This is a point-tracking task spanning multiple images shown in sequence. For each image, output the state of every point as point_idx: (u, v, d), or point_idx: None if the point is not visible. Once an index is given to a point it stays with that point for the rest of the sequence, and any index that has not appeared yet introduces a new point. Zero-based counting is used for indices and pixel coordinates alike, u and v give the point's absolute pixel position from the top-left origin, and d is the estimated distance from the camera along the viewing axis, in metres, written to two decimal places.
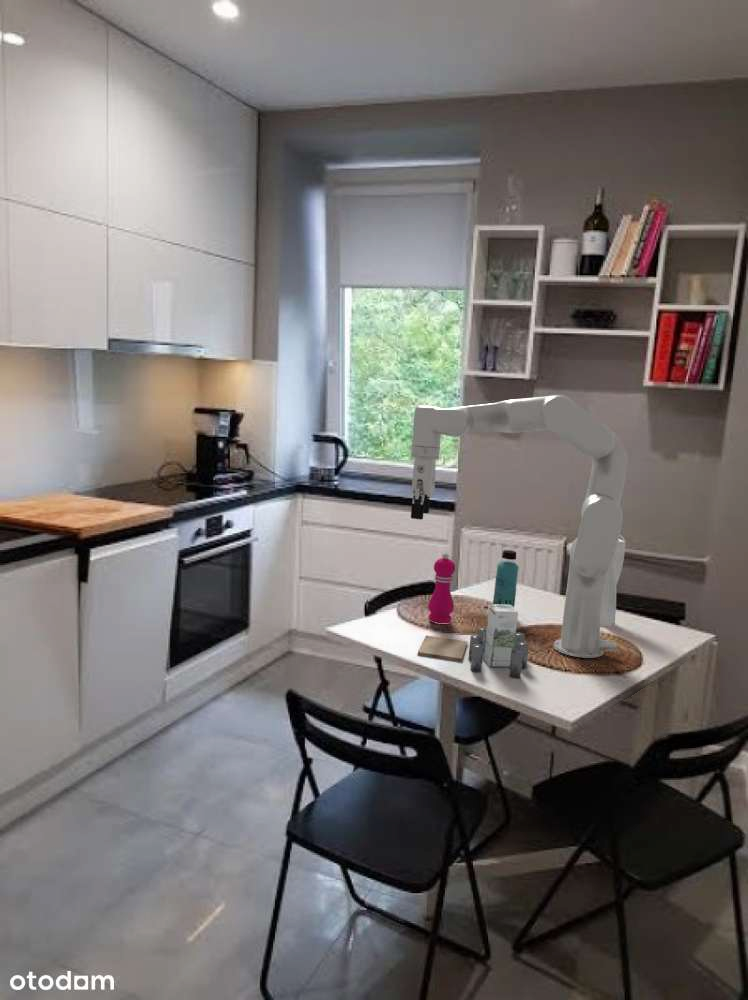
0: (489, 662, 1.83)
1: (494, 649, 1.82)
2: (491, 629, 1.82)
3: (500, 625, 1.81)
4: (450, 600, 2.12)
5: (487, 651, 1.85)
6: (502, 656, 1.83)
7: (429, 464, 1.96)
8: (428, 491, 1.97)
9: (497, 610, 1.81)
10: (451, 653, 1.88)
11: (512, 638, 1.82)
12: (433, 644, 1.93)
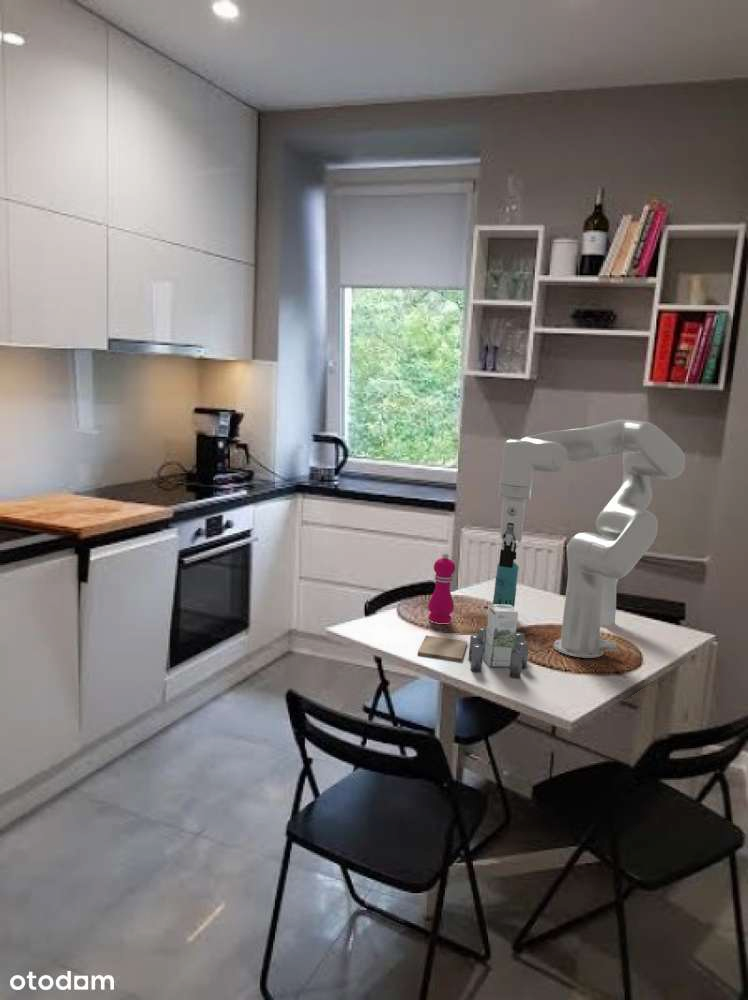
0: (489, 662, 1.83)
1: (494, 649, 1.82)
2: (491, 629, 1.82)
3: (500, 625, 1.81)
4: (450, 600, 2.12)
5: (487, 651, 1.85)
6: (502, 656, 1.83)
7: (521, 506, 1.74)
8: (520, 536, 1.75)
9: (497, 610, 1.81)
10: (451, 653, 1.88)
11: (512, 638, 1.82)
12: (433, 644, 1.93)
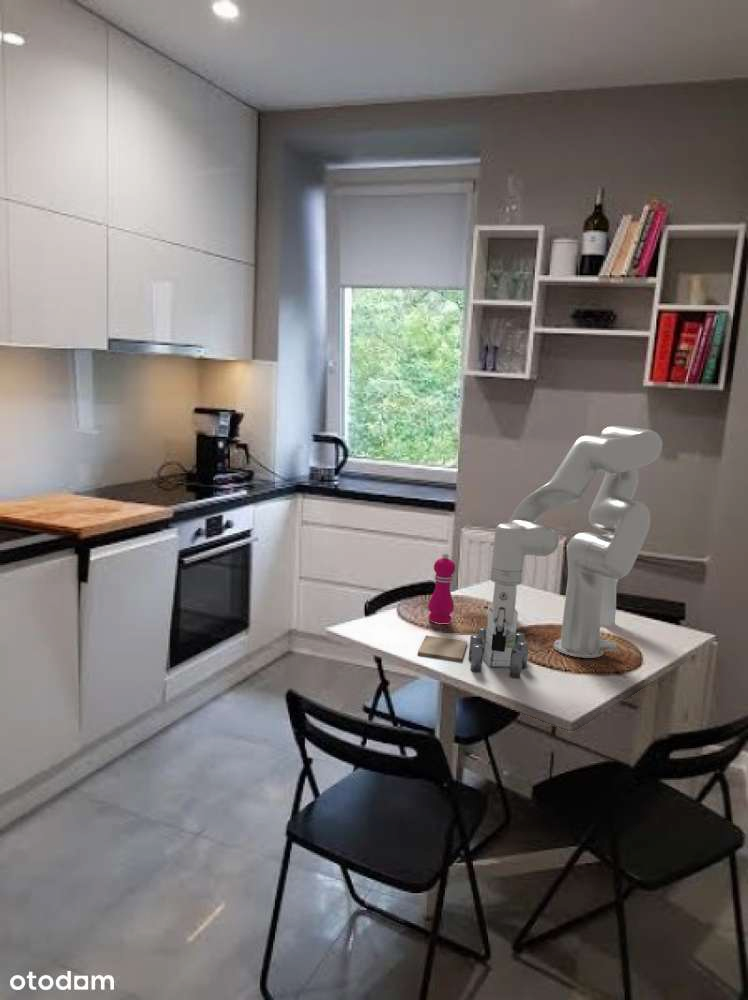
0: (489, 662, 1.83)
1: None
2: (491, 629, 1.82)
3: None
4: (450, 600, 2.12)
5: (487, 651, 1.85)
6: (502, 656, 1.83)
7: (512, 590, 1.78)
8: (511, 620, 1.78)
9: None
10: (451, 653, 1.88)
11: (512, 638, 1.82)
12: (433, 644, 1.93)
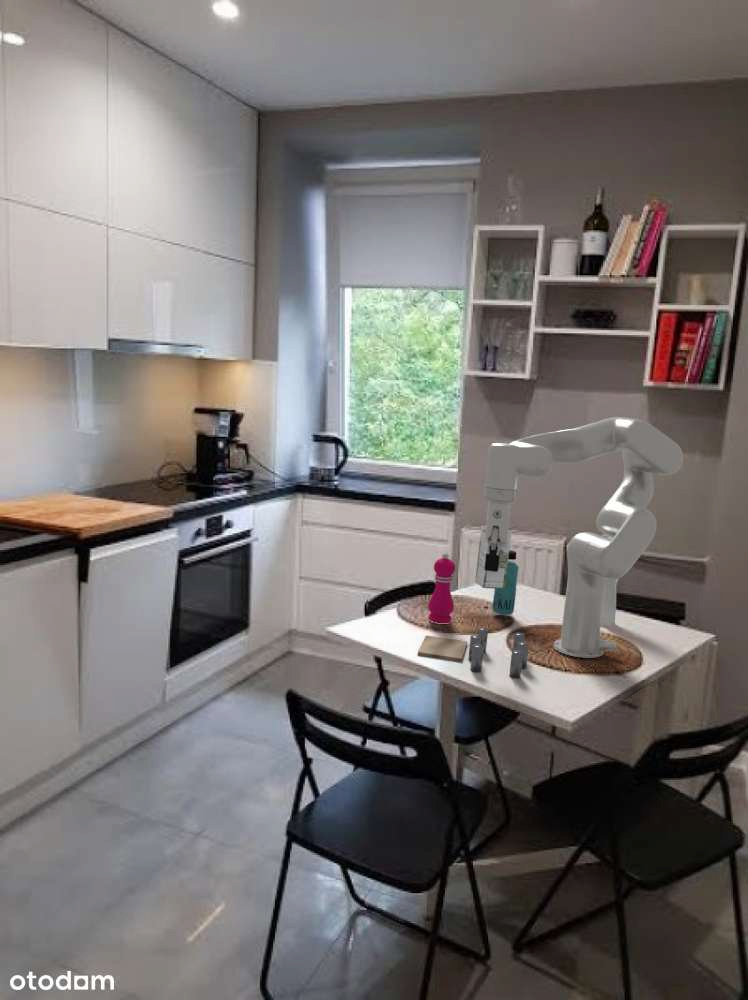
0: (482, 583, 1.81)
1: None
2: (484, 549, 1.81)
3: None
4: (450, 600, 2.12)
5: (480, 573, 1.83)
6: (495, 577, 1.81)
7: (506, 509, 1.76)
8: (505, 539, 1.77)
9: None
10: (451, 653, 1.88)
11: (505, 558, 1.81)
12: (433, 644, 1.93)
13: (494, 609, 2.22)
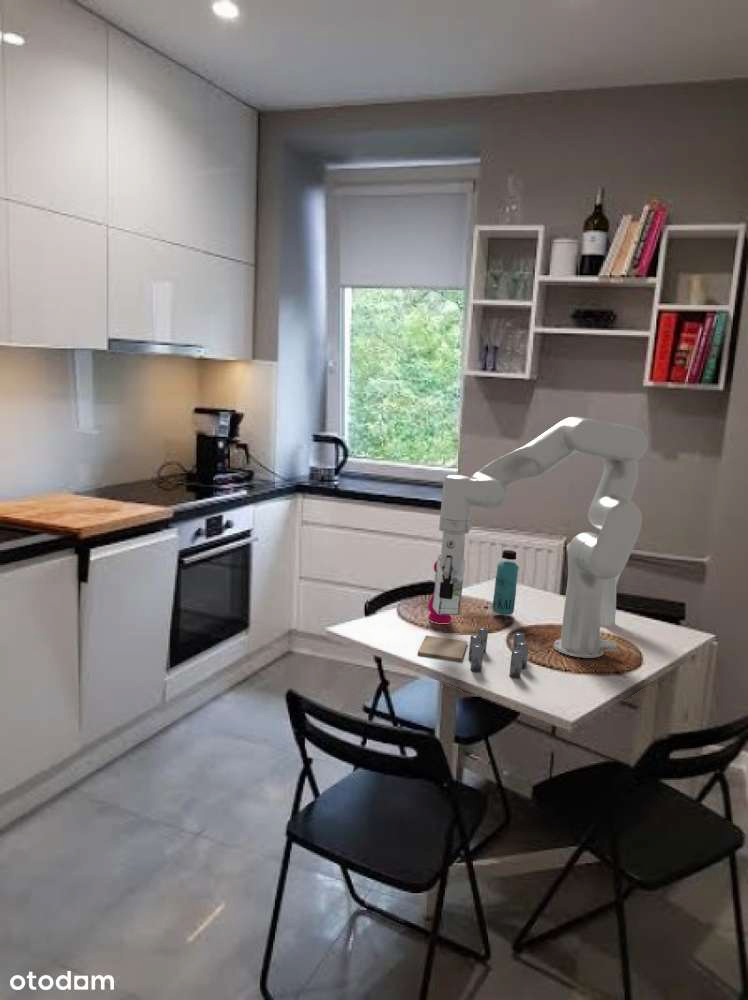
0: (437, 610, 1.88)
1: None
2: (439, 577, 1.88)
3: None
4: None
5: (436, 599, 1.90)
6: (450, 604, 1.88)
7: (459, 539, 1.83)
8: (458, 568, 1.84)
9: None
10: (451, 653, 1.88)
11: (460, 586, 1.87)
12: (433, 644, 1.93)
13: (494, 609, 2.22)
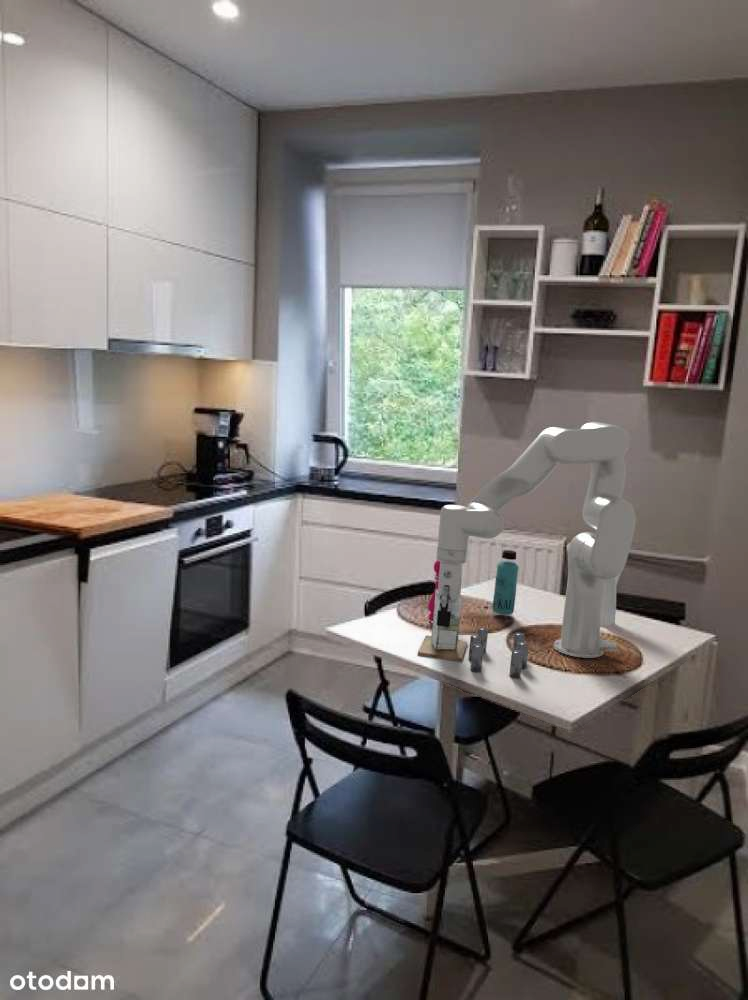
0: (435, 645, 1.90)
1: (439, 632, 1.88)
2: (437, 613, 1.89)
3: None
4: None
5: (434, 634, 1.91)
6: (447, 639, 1.89)
7: (456, 569, 1.84)
8: (455, 598, 1.85)
9: None
10: (451, 653, 1.88)
11: (457, 622, 1.88)
12: None
13: (494, 609, 2.22)
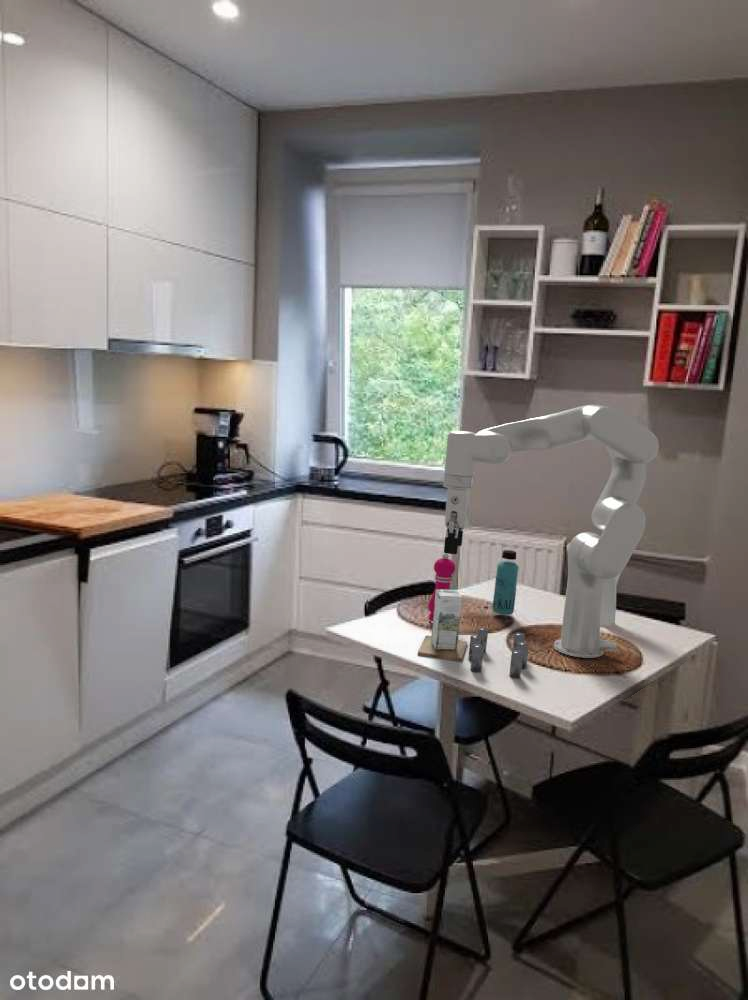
0: (435, 645, 1.90)
1: (439, 632, 1.88)
2: (437, 613, 1.89)
3: (445, 609, 1.87)
4: None
5: (434, 634, 1.91)
6: (447, 639, 1.89)
7: (464, 494, 1.81)
8: (463, 524, 1.82)
9: (442, 594, 1.88)
10: (451, 653, 1.88)
11: (457, 622, 1.88)
12: None
13: (494, 609, 2.22)
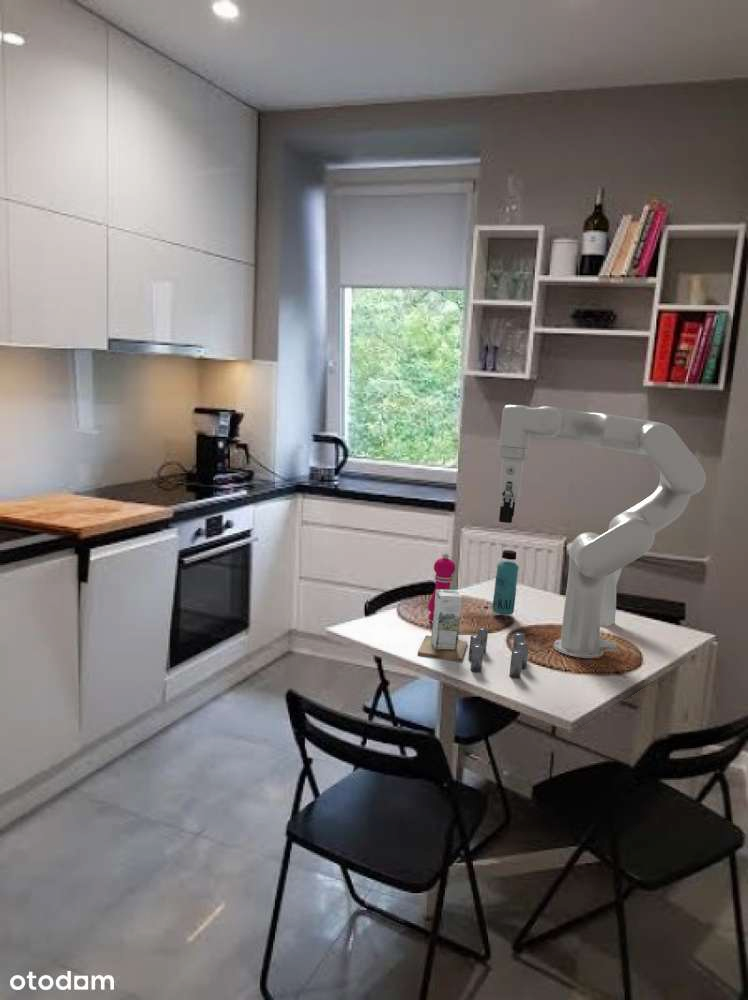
0: (435, 645, 1.90)
1: (439, 632, 1.88)
2: (437, 613, 1.89)
3: (445, 609, 1.87)
4: None
5: (434, 634, 1.91)
6: (447, 639, 1.89)
7: (519, 465, 1.89)
8: (518, 494, 1.90)
9: (442, 594, 1.88)
10: (451, 653, 1.88)
11: (457, 622, 1.88)
12: None
13: (494, 609, 2.22)
